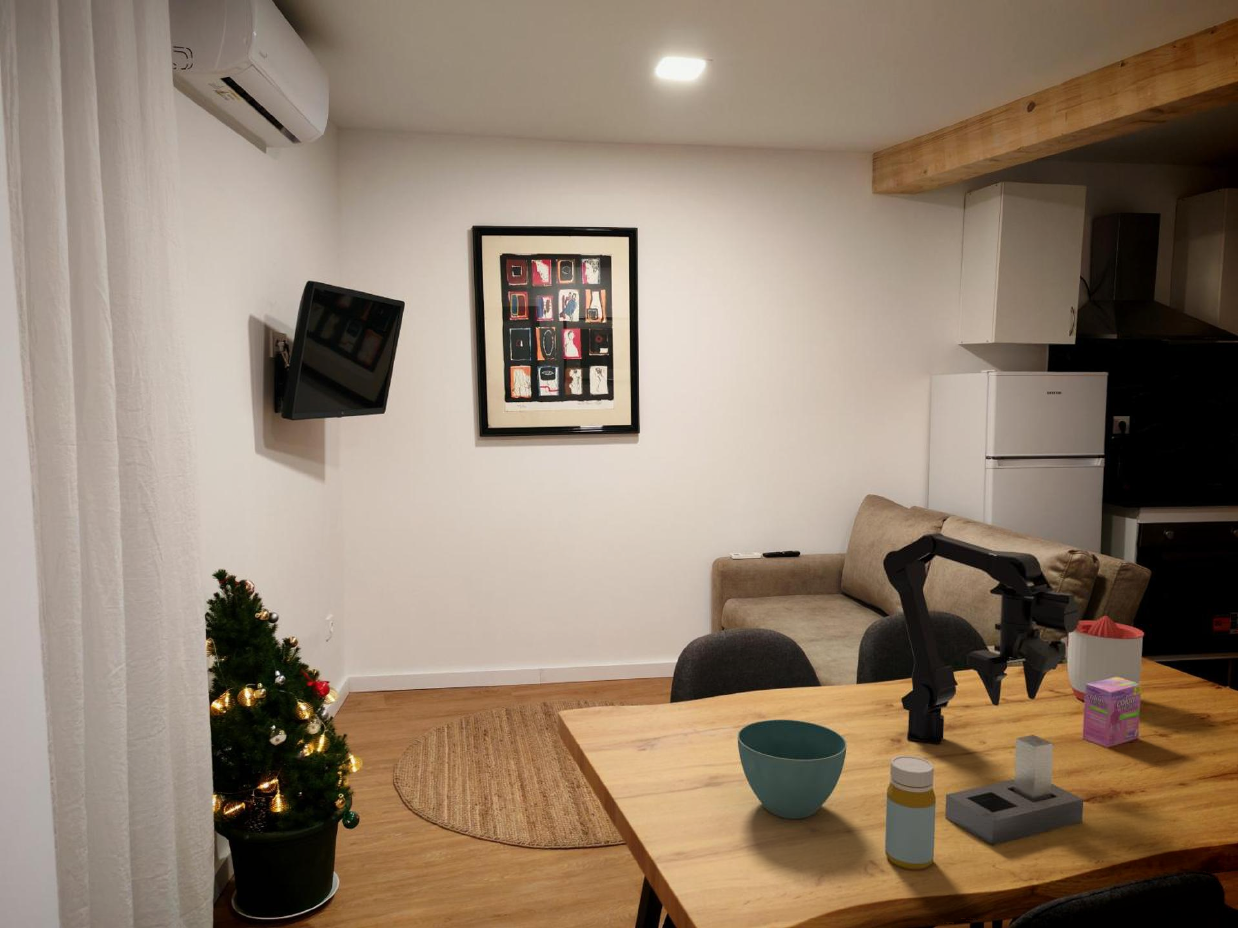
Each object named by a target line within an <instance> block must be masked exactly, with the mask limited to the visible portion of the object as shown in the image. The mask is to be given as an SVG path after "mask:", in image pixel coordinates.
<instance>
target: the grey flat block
mask: <svg viewBox="0 0 1238 928" xmlns="http://www.w3.org/2000/svg"><path fill="white" fill-rule="evenodd" d="M1083 812H1084V798H1082V797H1080V796H1078V795H1076V794H1075V793H1072V792H1070V791H1068V790H1066V789H1064V788H1062V787H1060V786H1057V785H1055V784H1054V783H1051V799H1047V800H1043V801H1038V802H1034V803H1033V802H1031V801H1030V800H1028V799H1026V798H1024V797H1022V796H1020V795H1018V794H1016V793H1014V778H1013V779H1009V780H1005V781H1000V782H995V783H991V784H988V785H983V786H978V787H974V788H969V789H966V790H965V789H964V790H960V791H956V792H952V793H947V794H945V815H944V816H945V819H947V820H948V821H950V822H952V823H953V824H955V825H957V826H959V827H960V828H962V829H963V828H964V829H963V830H965V831H967V832H969V833H970V834H972V835H974V836H975V837H977V838H979V839H980V840H982V841H983V842H986V843H987V844H988V845H990V846H992V847H993V846H997V845H1000V844H1005V843H1008V842H1012V841H1016V840H1020V839H1023V838H1027V837H1028V838H1029V837H1031V836H1035V835H1038V834H1043V833H1047V832H1051V831H1054V830H1057V829H1058V830H1059V829H1063V828H1065V826H1066V827H1070V826H1073V825H1077V824H1080V823H1083V817H1084V815H1083V814H1084V813H1083ZM1069 825H1070V826H1069ZM1050 830H1051V831H1050Z"/></svg>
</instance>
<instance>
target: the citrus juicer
mask: <svg viewBox="0 0 1238 928" xmlns="http://www.w3.org/2000/svg"><path fill="white" fill-rule="evenodd" d="M1066 633H1067V636H1066V637H1063V638H1061V639H1060V640H1061V641H1062V642H1064V643H1065V644H1066V647H1067V671H1068V673H1067V674H1068V679H1069V682H1070V686H1071V689H1072V692H1073V694H1074V696H1075V697H1076V698H1077V699H1078V700H1080V701H1083V702H1085V686H1086V684H1089V683H1093V682H1097V681H1101V680H1105V679H1109V678H1113V677H1119V678H1123V679H1126V680H1129V681H1133V682H1136V683H1139V684H1140V679H1141V673H1142V672H1141V671H1142V657H1143V655H1142V653H1143V641H1144V640H1143V638H1144V637H1145V632H1143V630H1141V629H1139V628H1136V627H1134V626H1130V625H1126V624H1123V623H1117V622H1115V621H1113V620H1112V619H1111V618H1110V617H1109V616H1108V615H1103V616H1101V617H1100V618H1099V619H1097V620H1091V619H1090V620H1089V619H1088V620H1087V619H1086V620H1079V623H1078V626H1077V628H1076V629H1075V630H1074V631H1073V632H1072V633H1069V632H1066Z"/></svg>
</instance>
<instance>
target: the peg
mask: <svg viewBox="0 0 1238 928" xmlns="http://www.w3.org/2000/svg"><path fill="white" fill-rule="evenodd" d="M1014 755H1015V756H1014V776H1013V777H1014V778H1013V779H1014V793H1016V794H1018V795H1020V796H1022V797H1024V798H1026V799H1028V800H1030V801H1031V802H1033V803H1034V802H1038V801H1043V800H1047V799H1051V784H1052V783H1053V781H1052V779H1053V758H1054V757H1053V756H1054V743H1053V742H1052V741H1049V740H1046V739H1045V738H1042V737H1040V736H1037V735H1035V734H1031V735H1026V736H1025V735H1024V736H1021V737H1016V738H1015V753H1014Z"/></svg>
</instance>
